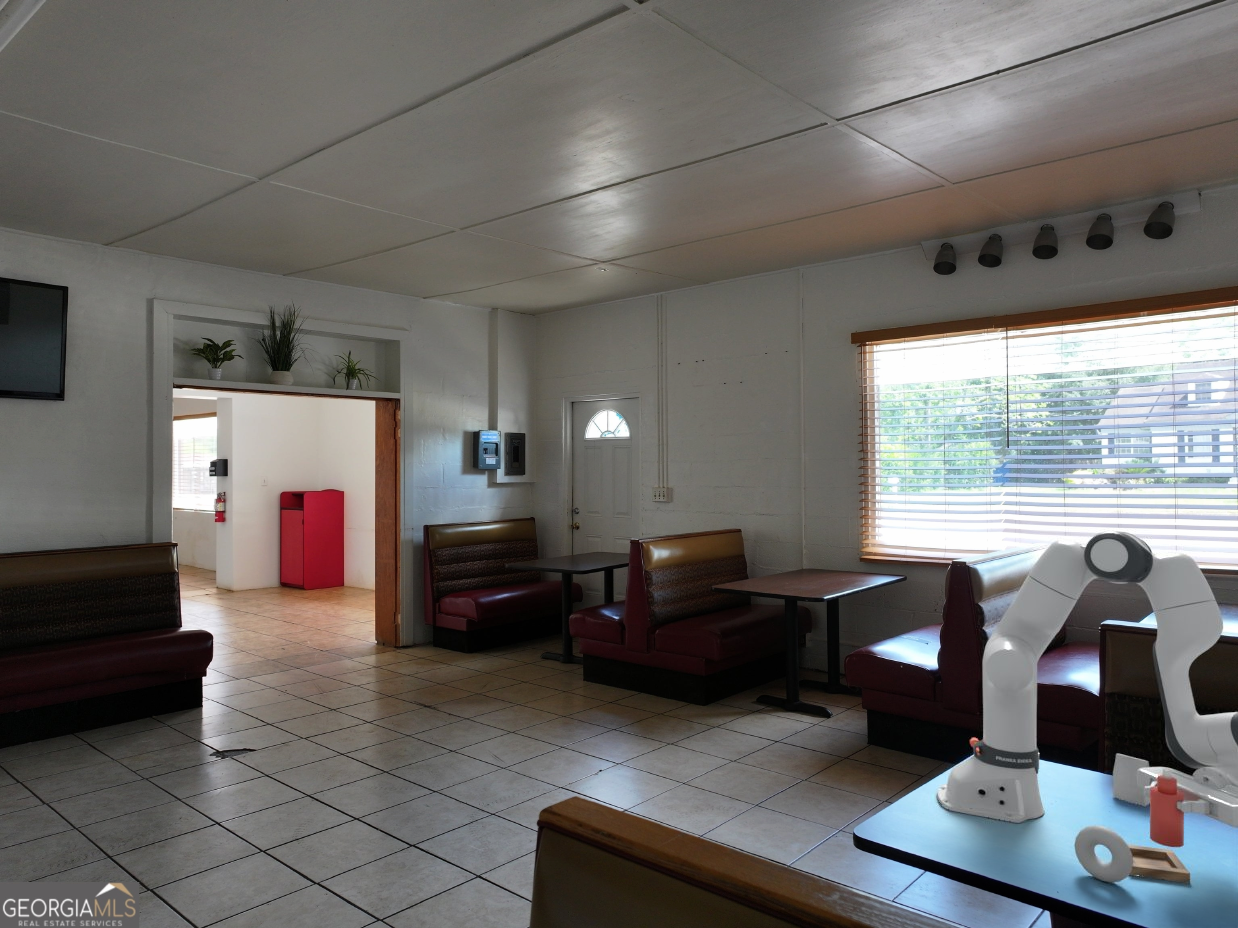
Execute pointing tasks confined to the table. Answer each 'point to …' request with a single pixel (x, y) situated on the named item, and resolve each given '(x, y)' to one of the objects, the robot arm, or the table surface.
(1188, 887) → the table surface
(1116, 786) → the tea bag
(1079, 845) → the donut
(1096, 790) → the table surface
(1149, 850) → the condiment tray
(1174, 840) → the ketchup bottle
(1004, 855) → the table surface
